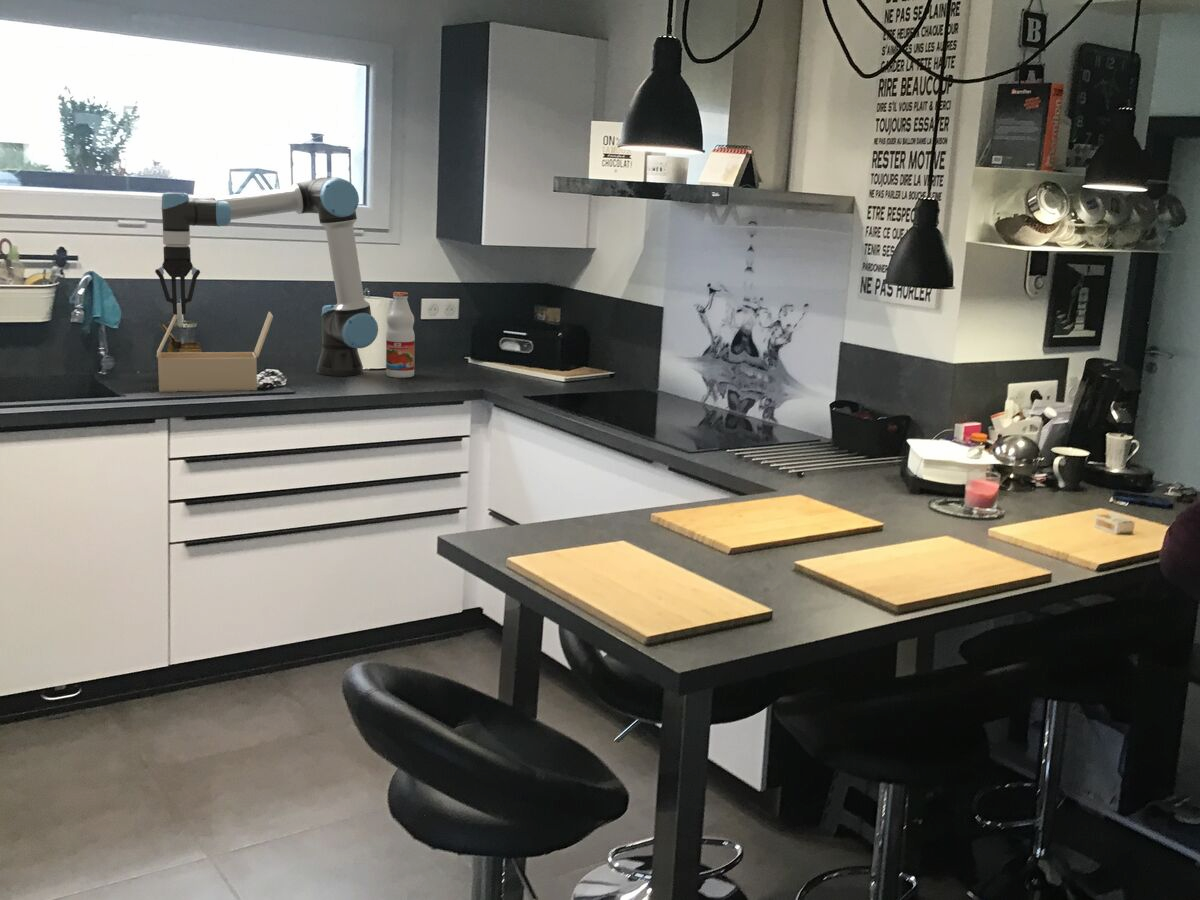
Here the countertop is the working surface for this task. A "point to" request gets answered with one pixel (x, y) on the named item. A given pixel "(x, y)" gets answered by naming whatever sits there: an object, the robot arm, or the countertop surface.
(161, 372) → the carton
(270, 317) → the flap
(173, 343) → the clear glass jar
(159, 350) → the flap
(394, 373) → the fruit juice
